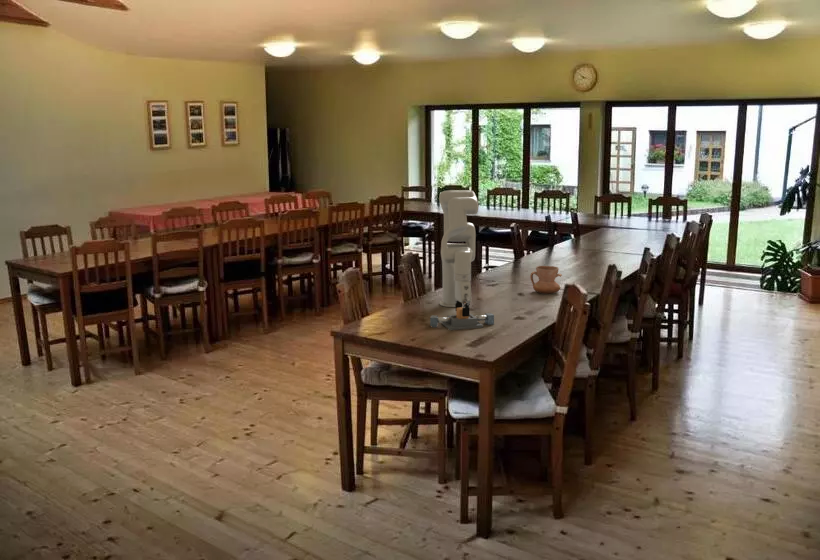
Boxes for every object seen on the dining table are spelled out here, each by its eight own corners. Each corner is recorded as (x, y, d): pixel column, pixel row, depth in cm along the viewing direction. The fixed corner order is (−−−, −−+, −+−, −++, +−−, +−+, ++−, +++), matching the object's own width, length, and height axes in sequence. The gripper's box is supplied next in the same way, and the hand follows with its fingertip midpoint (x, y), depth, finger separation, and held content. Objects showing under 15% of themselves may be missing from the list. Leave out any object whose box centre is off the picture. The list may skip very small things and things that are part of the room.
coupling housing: (442, 324, 331) (442, 315, 330) (474, 321, 335) (474, 312, 334) (449, 330, 321) (449, 321, 320) (482, 327, 325) (482, 318, 324)
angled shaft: (450, 325, 328) (450, 316, 327) (449, 327, 325) (449, 318, 324) (431, 324, 330) (431, 315, 329) (430, 327, 326) (430, 317, 325)
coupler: (452, 322, 329) (453, 308, 327) (468, 321, 331) (468, 306, 329) (456, 325, 324) (456, 310, 323) (471, 323, 326) (471, 309, 325)
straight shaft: (475, 325, 327) (475, 316, 326) (472, 323, 331) (472, 314, 330) (493, 324, 330) (494, 315, 329) (490, 322, 333) (490, 312, 333)
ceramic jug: (565, 291, 394) (566, 266, 391) (556, 297, 382) (557, 271, 379) (535, 288, 403) (536, 263, 400) (525, 293, 391) (525, 267, 388)
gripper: (476, 280, 316) (476, 317, 319) (464, 273, 332) (463, 308, 336) (460, 281, 314) (460, 318, 318) (448, 273, 330) (448, 309, 334)
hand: (462, 313), depth 327 cm, fingers open, 9 cm apart
